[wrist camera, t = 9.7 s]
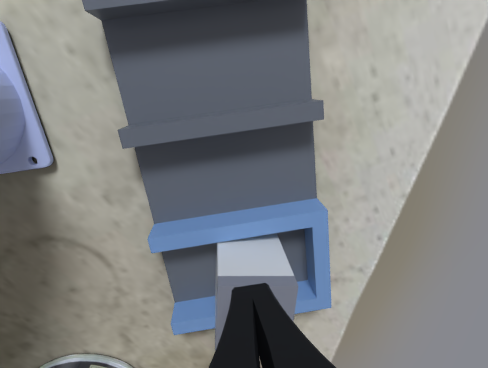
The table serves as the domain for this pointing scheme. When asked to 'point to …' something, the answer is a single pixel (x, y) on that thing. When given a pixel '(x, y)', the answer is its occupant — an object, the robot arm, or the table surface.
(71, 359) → the coffee can
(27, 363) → the table surface
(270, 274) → the grey square block
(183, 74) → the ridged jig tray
